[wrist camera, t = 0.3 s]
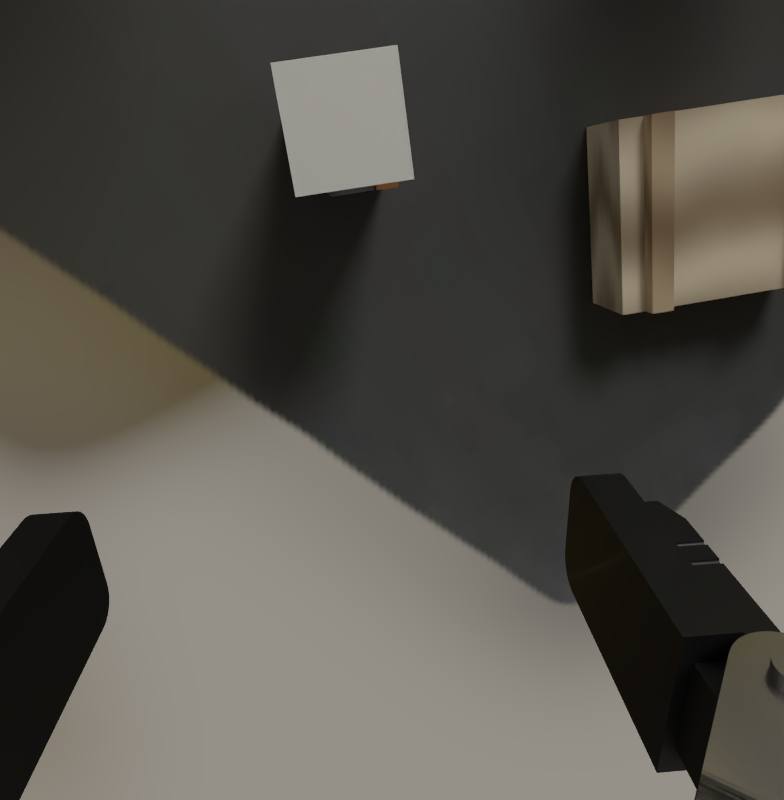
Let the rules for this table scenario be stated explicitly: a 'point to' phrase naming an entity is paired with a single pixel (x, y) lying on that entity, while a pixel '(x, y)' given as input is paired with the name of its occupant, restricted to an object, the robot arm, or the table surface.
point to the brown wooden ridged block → (687, 205)
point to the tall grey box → (344, 121)
